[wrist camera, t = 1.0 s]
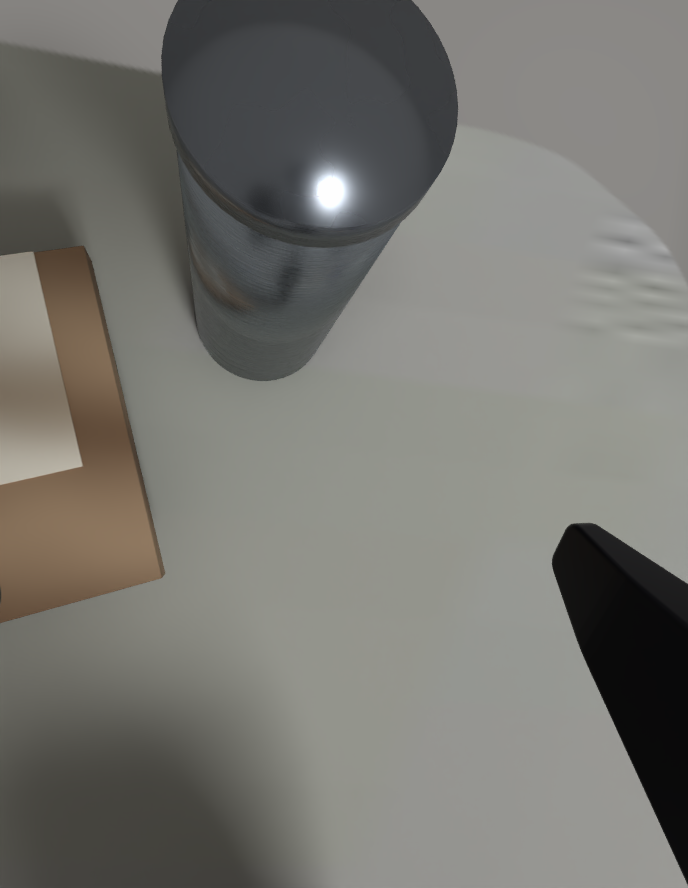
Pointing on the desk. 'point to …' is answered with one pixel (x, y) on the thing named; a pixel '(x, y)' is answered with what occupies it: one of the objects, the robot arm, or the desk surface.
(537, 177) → the desk surface
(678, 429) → the desk surface
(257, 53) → the canister
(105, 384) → the frame
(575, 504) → the desk surface
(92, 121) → the desk surface
